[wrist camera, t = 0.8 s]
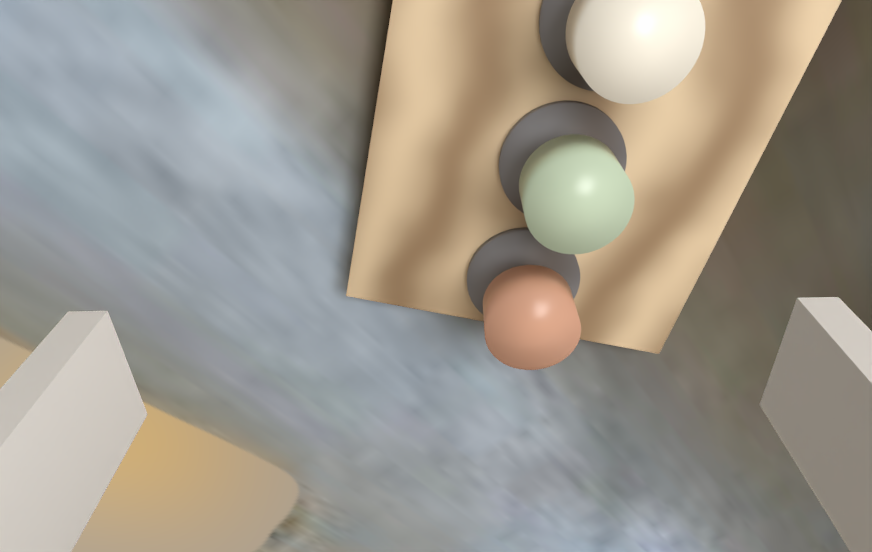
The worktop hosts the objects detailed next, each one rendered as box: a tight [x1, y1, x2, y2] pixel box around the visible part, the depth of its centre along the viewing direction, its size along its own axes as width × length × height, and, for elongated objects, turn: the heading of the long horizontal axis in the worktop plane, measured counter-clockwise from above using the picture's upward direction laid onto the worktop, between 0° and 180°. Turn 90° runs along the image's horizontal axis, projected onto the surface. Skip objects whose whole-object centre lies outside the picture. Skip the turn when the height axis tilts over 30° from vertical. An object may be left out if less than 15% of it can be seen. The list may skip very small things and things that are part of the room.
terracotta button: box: [483, 265, 581, 370], centre depth 36 cm, size 5×5×3 cm
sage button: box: [519, 134, 635, 254], centre depth 32 cm, size 5×5×3 cm
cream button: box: [566, 0, 705, 104], centre depth 27 cm, size 5×5×3 cm
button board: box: [346, 0, 841, 354], centre depth 36 cm, size 22×24×3 cm
